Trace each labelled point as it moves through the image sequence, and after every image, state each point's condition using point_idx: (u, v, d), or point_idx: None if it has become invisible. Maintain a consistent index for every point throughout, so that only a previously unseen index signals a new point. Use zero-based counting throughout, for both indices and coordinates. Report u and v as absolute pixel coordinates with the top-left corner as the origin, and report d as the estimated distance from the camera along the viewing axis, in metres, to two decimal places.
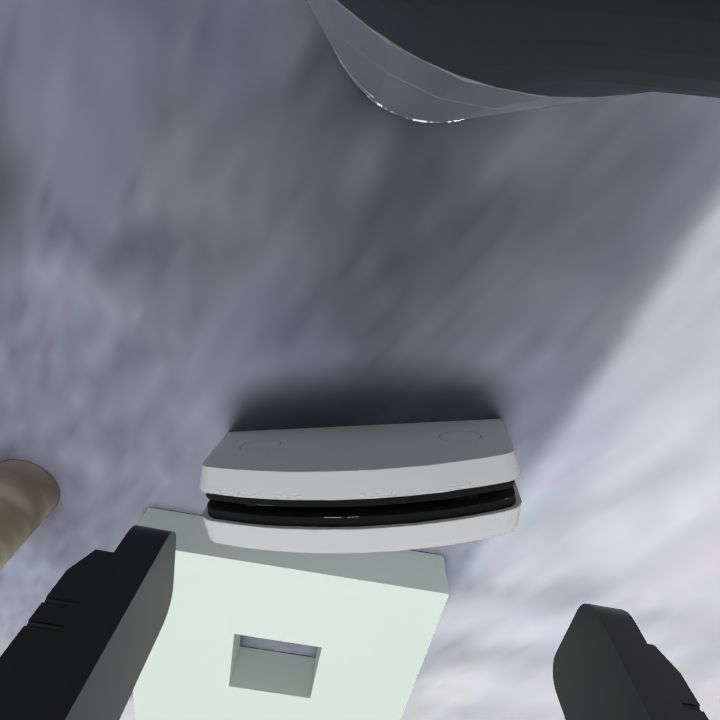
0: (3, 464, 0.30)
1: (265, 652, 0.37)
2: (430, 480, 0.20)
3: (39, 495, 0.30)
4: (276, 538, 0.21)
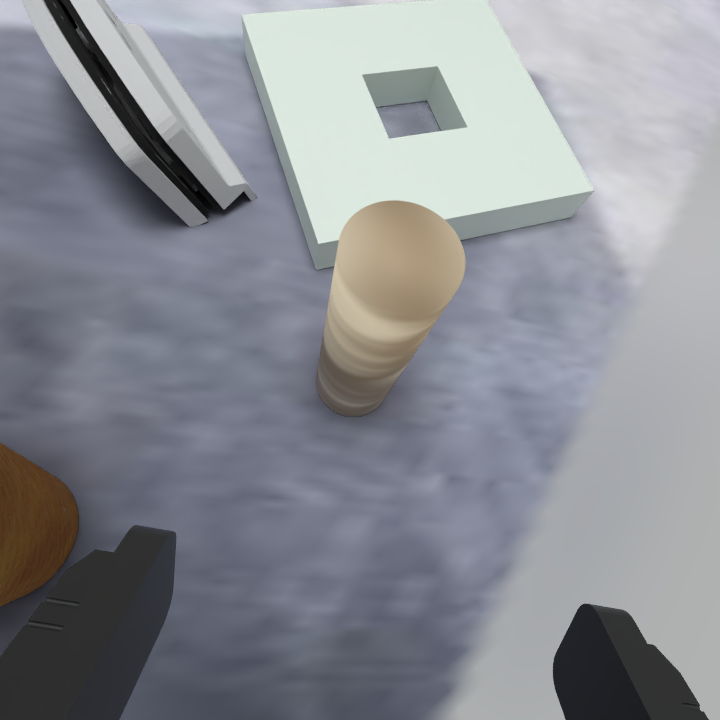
0: (325, 401, 0.28)
1: None
2: (33, 2, 0.26)
3: None
4: (120, 61, 0.25)
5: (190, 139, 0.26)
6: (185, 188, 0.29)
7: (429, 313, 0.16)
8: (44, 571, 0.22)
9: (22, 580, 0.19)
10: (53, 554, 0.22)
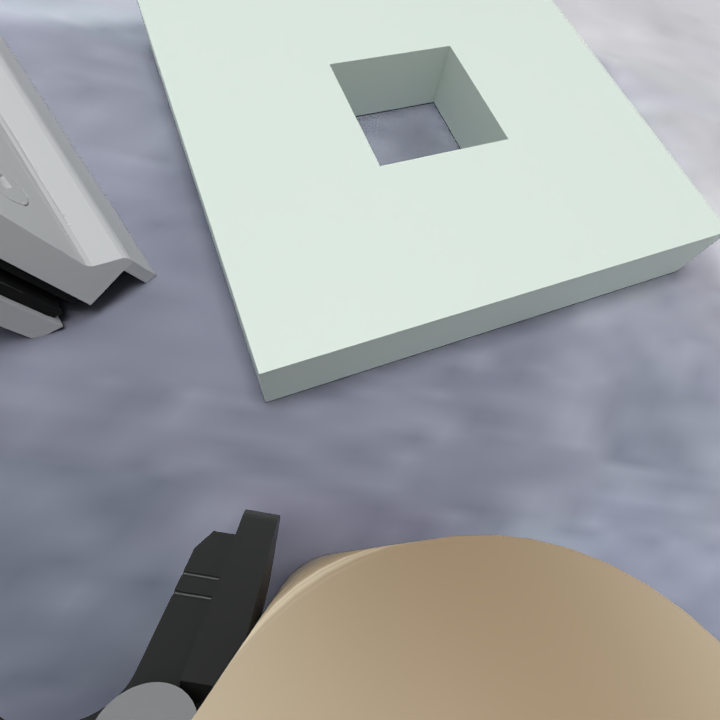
0: None
1: None
2: None
3: None
4: None
5: None
6: None
7: None
8: None
9: None
10: None
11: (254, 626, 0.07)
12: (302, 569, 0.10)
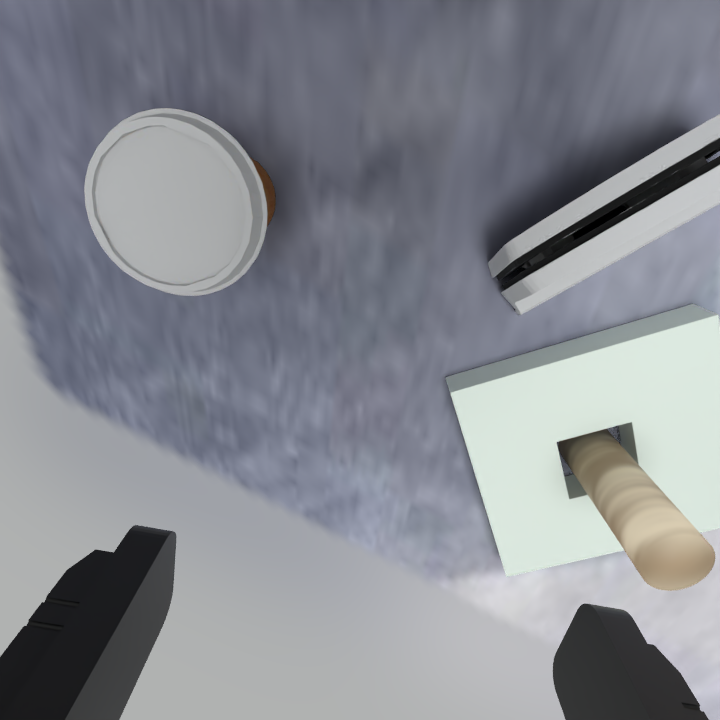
0: None
1: None
2: (686, 146, 0.26)
3: None
4: (590, 249, 0.28)
5: (528, 295, 0.31)
6: (505, 274, 0.34)
7: (638, 570, 0.30)
8: None
9: None
10: None
11: (665, 496, 0.32)
12: None
